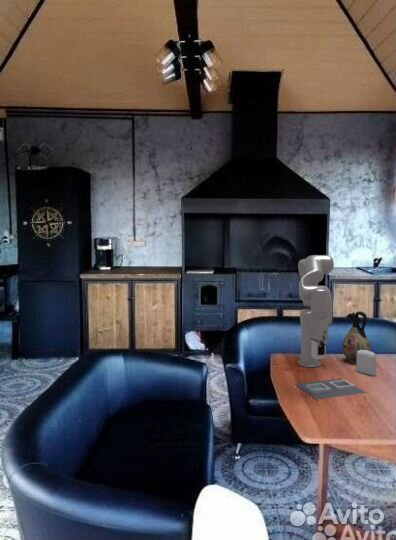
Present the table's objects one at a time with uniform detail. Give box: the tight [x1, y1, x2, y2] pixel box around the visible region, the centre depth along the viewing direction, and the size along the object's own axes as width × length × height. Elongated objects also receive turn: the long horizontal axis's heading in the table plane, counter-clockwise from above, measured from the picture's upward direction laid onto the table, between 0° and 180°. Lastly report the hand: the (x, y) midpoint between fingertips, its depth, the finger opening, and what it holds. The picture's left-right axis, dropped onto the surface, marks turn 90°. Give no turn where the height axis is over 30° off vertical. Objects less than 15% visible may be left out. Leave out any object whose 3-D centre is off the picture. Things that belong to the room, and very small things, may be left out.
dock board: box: [294, 378, 367, 402], centre depth 206 cm, size 20×26×2 cm
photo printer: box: [355, 350, 377, 377], centre depth 229 cm, size 10×4×12 cm, turn 39°
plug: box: [311, 340, 327, 360], centre depth 203 cm, size 4×6×8 cm
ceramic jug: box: [341, 311, 372, 364], centre depth 248 cm, size 17×15×30 cm
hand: (318, 352), depth 203 cm, fingers closed on plug, 4 cm apart
